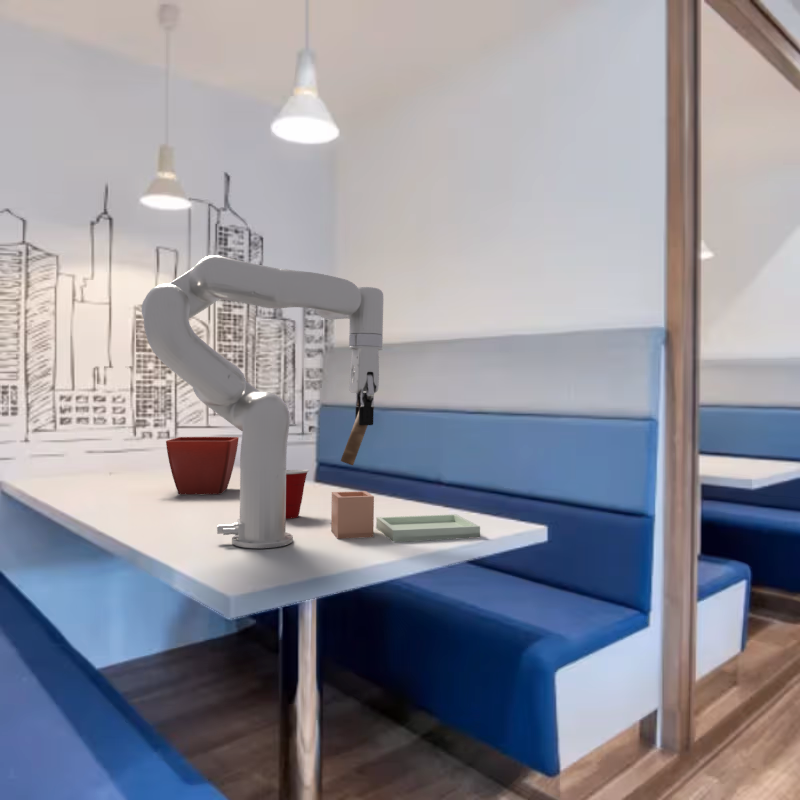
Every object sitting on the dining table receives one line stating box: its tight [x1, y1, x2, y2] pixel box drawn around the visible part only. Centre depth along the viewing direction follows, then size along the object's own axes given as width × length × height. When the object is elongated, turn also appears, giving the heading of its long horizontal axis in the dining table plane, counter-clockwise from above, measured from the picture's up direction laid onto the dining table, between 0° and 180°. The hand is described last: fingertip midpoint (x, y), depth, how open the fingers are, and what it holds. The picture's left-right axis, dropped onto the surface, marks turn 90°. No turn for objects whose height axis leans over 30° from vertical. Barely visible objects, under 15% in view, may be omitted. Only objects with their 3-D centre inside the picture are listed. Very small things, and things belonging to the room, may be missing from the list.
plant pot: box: [165, 436, 239, 495], centre depth 207 cm, size 19×19×17 cm
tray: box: [375, 513, 481, 543], centre depth 151 cm, size 20×15×2 cm
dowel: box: [340, 405, 375, 466], centre depth 148 cm, size 8×3×14 cm, turn 106°
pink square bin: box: [330, 490, 375, 540], centre depth 148 cm, size 8×8×9 cm
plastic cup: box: [286, 469, 310, 520], centre depth 168 cm, size 11×11×12 cm
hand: (364, 423), depth 149 cm, fingers closed on dowel, 3 cm apart
